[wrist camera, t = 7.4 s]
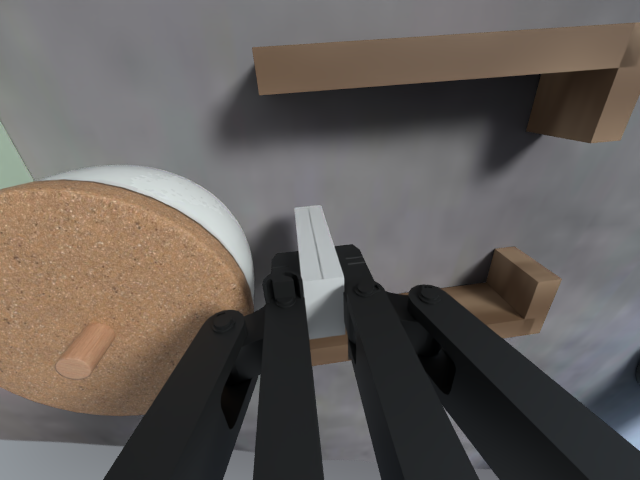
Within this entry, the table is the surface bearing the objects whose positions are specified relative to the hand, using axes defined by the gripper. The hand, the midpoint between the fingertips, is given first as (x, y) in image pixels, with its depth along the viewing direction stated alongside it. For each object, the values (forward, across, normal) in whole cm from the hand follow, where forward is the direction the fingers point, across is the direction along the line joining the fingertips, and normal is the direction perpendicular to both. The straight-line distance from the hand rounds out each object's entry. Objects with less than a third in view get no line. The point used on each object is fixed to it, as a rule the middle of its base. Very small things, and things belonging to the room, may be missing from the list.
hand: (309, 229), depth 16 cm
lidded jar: (+2, +8, 0) cm, 8 cm away
